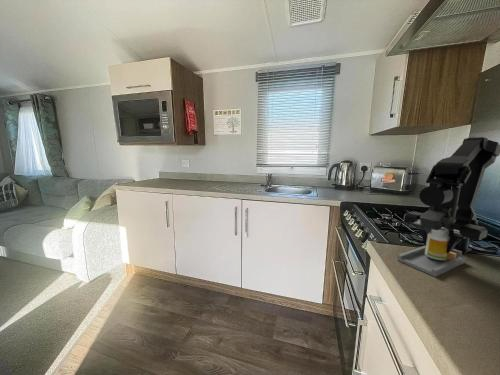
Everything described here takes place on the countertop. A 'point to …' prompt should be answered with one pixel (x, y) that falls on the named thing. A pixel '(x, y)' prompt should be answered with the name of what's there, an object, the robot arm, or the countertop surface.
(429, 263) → the grey tray
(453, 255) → the bar
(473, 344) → the countertop surface
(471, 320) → the countertop surface
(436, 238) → the supplement bottle
